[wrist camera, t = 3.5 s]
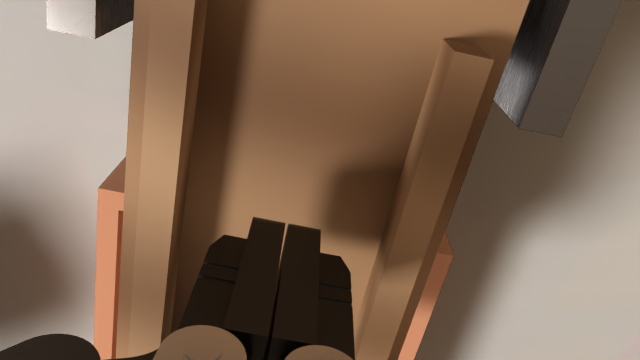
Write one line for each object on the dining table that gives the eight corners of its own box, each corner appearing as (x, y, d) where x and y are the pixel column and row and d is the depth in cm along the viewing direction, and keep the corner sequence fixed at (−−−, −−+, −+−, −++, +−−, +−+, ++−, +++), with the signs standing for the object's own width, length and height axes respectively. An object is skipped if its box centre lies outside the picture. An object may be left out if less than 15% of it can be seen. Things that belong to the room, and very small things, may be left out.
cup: (150, 127, 26) (98, 188, 20) (427, 183, 27) (453, 255, 21) (135, 341, 32) (91, 435, 26) (361, 380, 33) (367, 479, 27)
